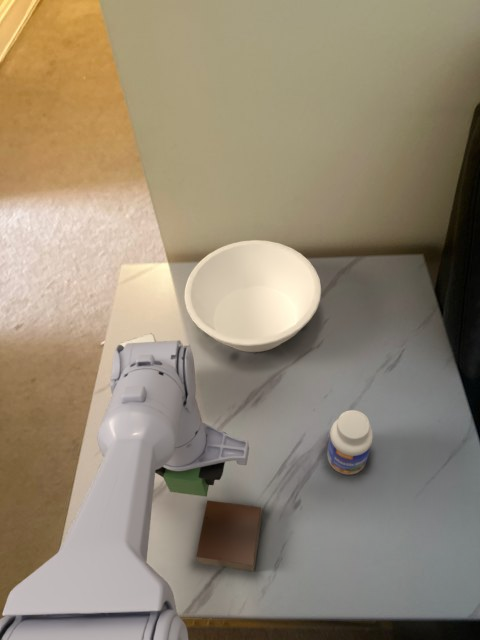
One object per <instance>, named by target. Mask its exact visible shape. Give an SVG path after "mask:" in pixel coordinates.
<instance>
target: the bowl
mask: <svg viewBox="0 0 480 640" xmlns="http://www.w3.org/2000/svg"><path fill="white" fill-rule="evenodd" d="M321 296H322V285H321V280H320V277H319V275H318V272H317V269H316V268H315V267H314V266H313V264H312V263H311V262H310V260H309V259H308V258H306V257H305V256H304V255H303V254H302V253H301V252H299V251H297V250H296V249H294V248H292V247H290V246H287V245H285V244H282V243H279V242H275V241H270V240H258V239H254V240H242V241H237V242H233V243H229V244H227V245H224V246H222V247H218V248H217V249H216V250H214V251H211V252H210V253H208V254H207V255H206V256H205V257H203V258H202V259H201V260H200V261H199V262H198V263H197V264H196V265H195V267H194V268H193V269H192V271H191V273H190V274H189V276H188V278H187V281H186V284H185V287H184V304H185V307H186V311H187V313H188V315H189V316H190V319H191V320H192V321H193V322H194V323H195V325H196V326H197V327H198V328H199V329H200V330H201V331H203V332H204V333H205V334H206V335H208V336H209V337H211V338H212V339H214V340H215V341H216V342H219V343H220V344H223V345H225V346H227V347H230V348H233V349H235V350H238V351H241V352H245V353H246V352H247V353H260V352H265V351H270V350H272V349H274V348H277V347H278V346H280V345H282V344H283V343H285V342H287V341H289V340H290V339H292V338H293V337H295V336H296V335H297V334H298V333H299V332H300V331H301V330H302V329H303V328H304V327H305V326H306V325H307V324H308V323H309V322H310V321H311V320H312V318H313V316H314V315H315V313H316V312H317V310H318V307H319V304H320V302H321Z"/></svg>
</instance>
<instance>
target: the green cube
mask: <svg viewBox="0 0 480 640" xmlns="http://www.w3.org/2000/svg"><path fill="white" fill-rule="evenodd" d="M199 472H200V467H198V468H194V469H189V470H184V471H172V470H169V469H165V473H164V477H162V478H163V479H164V482H165V484H166V486H167V488H168V491H169V492H170V493H176V494H183V495H189V496H190V495H191V496H198V497H207V496H208V494H209V493H208V492H209V488H210V485H207V483H206V481H205V479H202V478H199Z"/></svg>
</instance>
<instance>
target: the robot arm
mask: <svg viewBox="0 0 480 640" xmlns="http://www.w3.org/2000/svg"><path fill="white" fill-rule="evenodd" d="M109 387H110V392H111V397H110V399H109V401H108V404H107V407H106V410H105V412H104V415H103V418H102V420H101V423H100V425H99V428H98V431H97V434H96V435H97V436H96V439H97V440H96V441H97V446H98V449H99V451H100V453H101V455H102V457H103V459H102V461H101V463H100V465H99V467H98V468H97V469H98V470H97V471H96V473H95V475H94V477H93V479H92V481H91V484H90V485H89V488H88V490H87V492H86V494H85V496H84V498H83V500H82V502H81V504H80V506H79V508H78V510H77V512H76V514H75V517H74V519H73V521H72V523H71V524H70V527H69V529H68V531H67V532H66V535H65V537H64V539H63V541H62V543H61V545H60V547H59V549H58V552H57V553H55V554H54V555H53V556H51V557H50V558H49V559H48V560H47V561H45V562H44V563H43V564H42V565H41V566H39V567H38V568H37V569H35V570H34V571H33V572H32V573H31V574H29V575H28V576H27V577H25V578H24V579H23V580H22V581H20V583H18V584H17V585H15V586H14V587H13V588H12V589H11V591H10V592H9V593H8V596H7V599H6V602H5V605H4V608H3V611H2V617H1V618H0V640H189V633H188V628H187V625H186V623H185V621H183V619H182V618H181V617H180V616H179V613H178V612H177V606H176V602H175V601H176V600H175V596H174V592H173V590H172V587H171V586H170V584H169V583H168V581H167V580H165V579H164V578H163V576H161V575H160V573H158V572H157V571H156V570H155V569H154V568H153V567H152V566H151V565H150V564H149V563H148V551H149V541H150V540H149V539H150V530H151V521H152V519H151V518H152V511H153V510H152V509H153V499H154V491H155V490H154V489H155V481H156V480H155V478H156V475H158V476H160V477H162V478H163V477H164V473H165V469H169V470H172V471H184V470H189V469H194V468H198V467H200V472H199V478H202V479H205V481H206V483H207V485H209V486H214V485H215V481H220V480H221V478H222V477H223V474H224V469H225V463H226V462H227V463H228V462H233V461H236V464H237V465H240V466H247V465H248V459H249V454H250V453H249V452H250V444H249V440H245V439H240V438H237V437H235V436H231V435H230V434H227V433H226V432H225V431H222V430H219V429H217V428H215V427H214V426H212V425H209V424H208V423H205V422H203V419H202V416H201V412H200V409H199V408H200V407H199V404H198V401H197V397H196V396H197V395H196V394H197V382H196V367H195V359H194V354H193V350H192V346H191V344H188V345H183V342H182V341H181V340H179V339H178V340H177V339H176V340H162V341H156V342H141V343H127V344H126V345H125V347H123V346H122V345H121V344H118V345H117V346H116V348H115V349H114V351H113V356H112V367H111V376H110V383H109Z"/></svg>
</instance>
